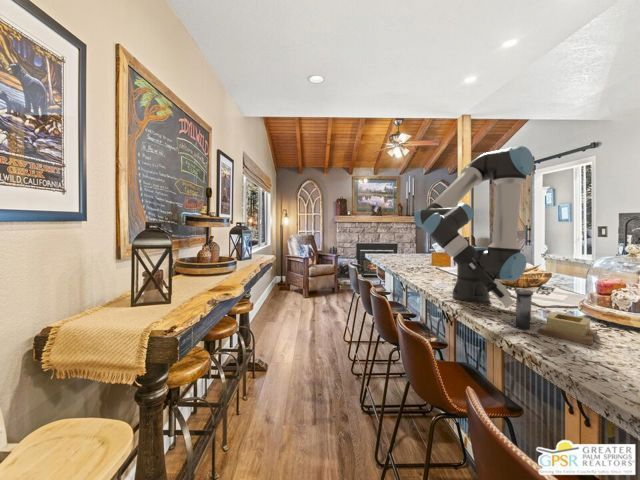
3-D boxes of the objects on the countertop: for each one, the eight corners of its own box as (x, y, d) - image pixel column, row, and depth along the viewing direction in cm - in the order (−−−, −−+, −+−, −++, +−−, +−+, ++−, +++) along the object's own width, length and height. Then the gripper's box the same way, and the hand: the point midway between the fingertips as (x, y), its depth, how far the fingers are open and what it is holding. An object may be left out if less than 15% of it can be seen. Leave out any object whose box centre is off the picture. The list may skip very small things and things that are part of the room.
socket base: (548, 325, 102) (548, 320, 102) (596, 335, 93) (597, 330, 93) (538, 333, 94) (539, 328, 94) (590, 345, 85) (591, 339, 85)
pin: (516, 324, 103) (517, 288, 103) (533, 327, 100) (535, 290, 99) (511, 327, 100) (513, 290, 99) (529, 331, 96) (531, 292, 96)
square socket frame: (552, 322, 100) (553, 312, 100) (589, 330, 93) (590, 318, 93) (546, 329, 94) (546, 317, 94) (585, 337, 87) (585, 324, 87)
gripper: (454, 255, 119) (497, 299, 113) (448, 261, 97) (501, 316, 91) (470, 242, 116) (516, 286, 110) (467, 245, 94) (523, 301, 88)
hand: (509, 300), depth 100 cm, fingers open, 13 cm apart
